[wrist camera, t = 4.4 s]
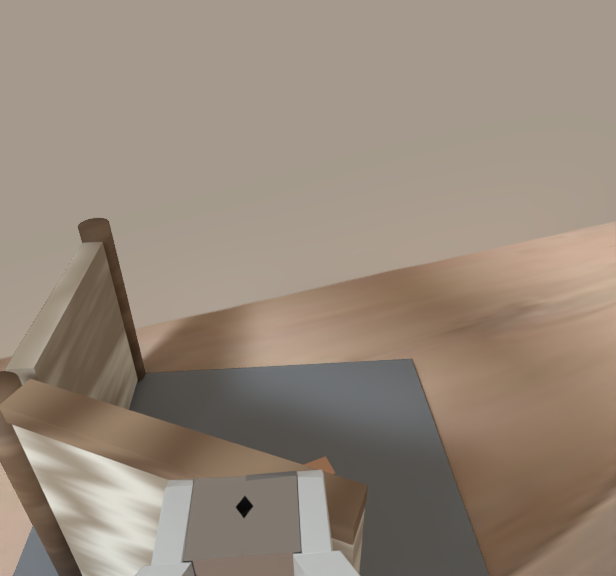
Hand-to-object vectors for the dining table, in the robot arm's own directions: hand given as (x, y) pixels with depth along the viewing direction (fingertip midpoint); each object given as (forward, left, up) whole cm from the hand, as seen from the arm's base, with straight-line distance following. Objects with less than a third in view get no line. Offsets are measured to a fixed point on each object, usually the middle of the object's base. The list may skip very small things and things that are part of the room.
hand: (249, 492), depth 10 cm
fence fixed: (-14, +23, -27) cm, 38 cm away
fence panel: (-5, +10, -26) cm, 28 cm away
